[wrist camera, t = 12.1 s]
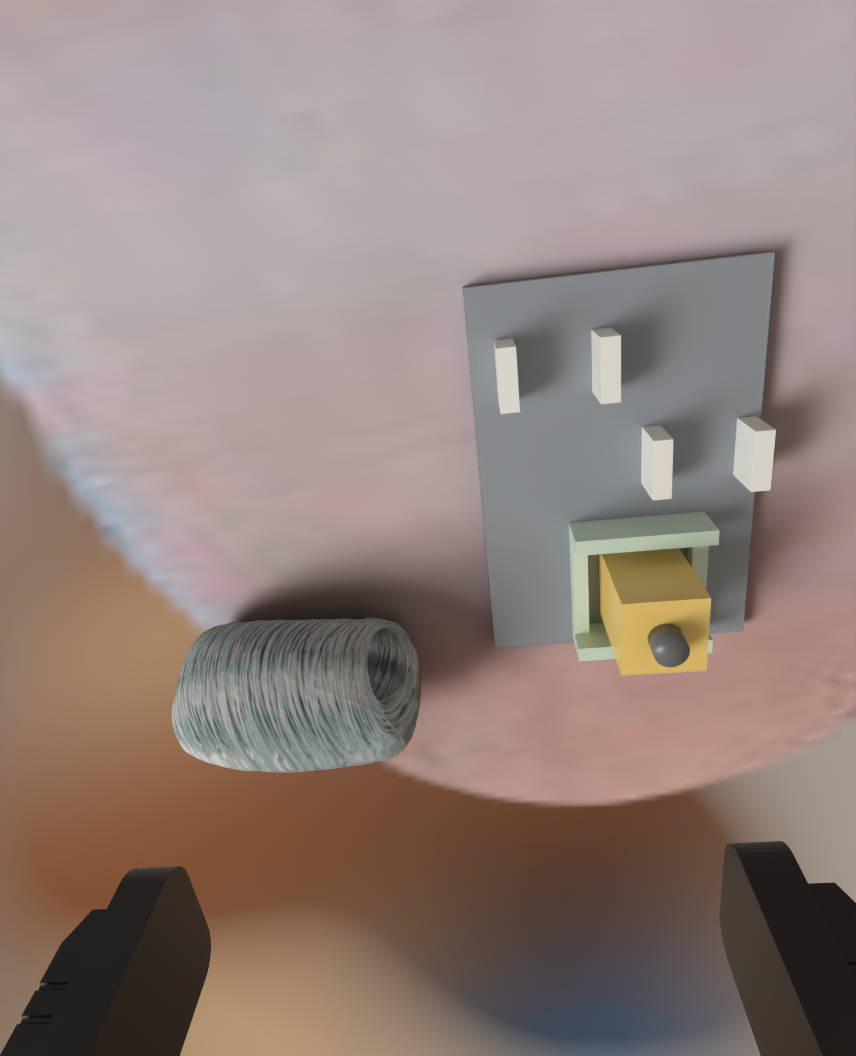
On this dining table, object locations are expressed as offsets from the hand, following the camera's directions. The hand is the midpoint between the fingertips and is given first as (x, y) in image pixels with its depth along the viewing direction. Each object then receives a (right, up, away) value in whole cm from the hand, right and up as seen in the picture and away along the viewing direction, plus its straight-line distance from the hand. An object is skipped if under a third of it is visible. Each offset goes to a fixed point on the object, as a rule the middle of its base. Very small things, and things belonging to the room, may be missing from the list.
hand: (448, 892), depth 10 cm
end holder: (+11, +3, +28) cm, 30 cm away
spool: (-7, -2, +32) cm, 33 cm away
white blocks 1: (+6, +13, +23) cm, 27 cm away
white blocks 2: (+13, +9, +24) cm, 29 cm away
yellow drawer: (+11, +3, +28) cm, 30 cm away
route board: (+9, +8, +26) cm, 29 cm away
